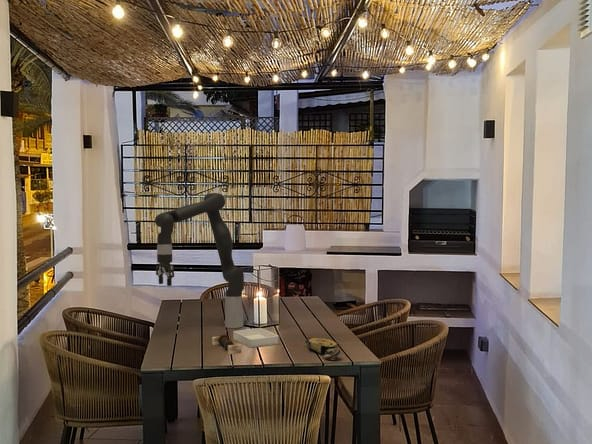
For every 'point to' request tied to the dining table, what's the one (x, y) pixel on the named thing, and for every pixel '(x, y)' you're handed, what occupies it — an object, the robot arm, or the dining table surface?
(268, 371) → the dining table surface
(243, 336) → the tray
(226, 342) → the bolt
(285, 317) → the dining table surface
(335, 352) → the pulley block
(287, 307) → the dining table surface
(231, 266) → the robot arm
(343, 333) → the dining table surface
